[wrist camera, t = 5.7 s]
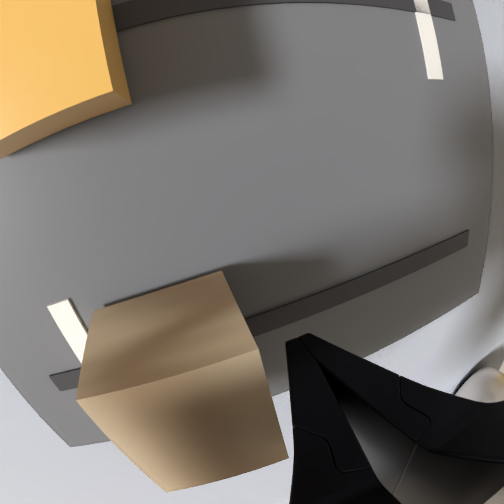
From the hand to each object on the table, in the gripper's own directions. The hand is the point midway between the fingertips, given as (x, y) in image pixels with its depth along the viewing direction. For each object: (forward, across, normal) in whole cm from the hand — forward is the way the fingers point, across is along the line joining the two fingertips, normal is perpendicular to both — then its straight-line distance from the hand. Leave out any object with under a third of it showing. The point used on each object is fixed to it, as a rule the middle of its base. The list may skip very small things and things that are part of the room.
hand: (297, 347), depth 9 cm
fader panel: (+4, 0, -5) cm, 6 cm away
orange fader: (+1, +5, -10) cm, 11 cm away
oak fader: (+1, +3, 0) cm, 4 cm away
